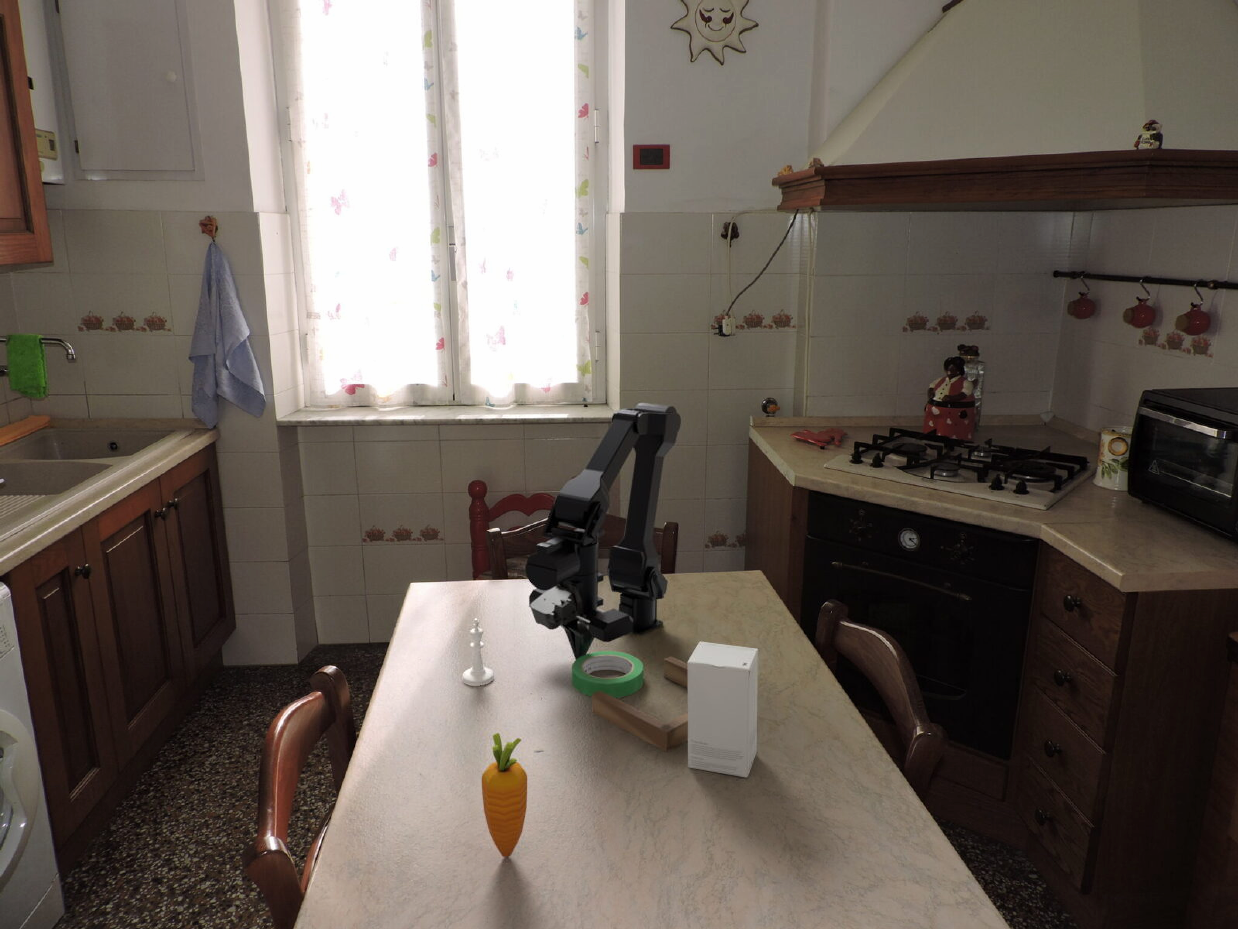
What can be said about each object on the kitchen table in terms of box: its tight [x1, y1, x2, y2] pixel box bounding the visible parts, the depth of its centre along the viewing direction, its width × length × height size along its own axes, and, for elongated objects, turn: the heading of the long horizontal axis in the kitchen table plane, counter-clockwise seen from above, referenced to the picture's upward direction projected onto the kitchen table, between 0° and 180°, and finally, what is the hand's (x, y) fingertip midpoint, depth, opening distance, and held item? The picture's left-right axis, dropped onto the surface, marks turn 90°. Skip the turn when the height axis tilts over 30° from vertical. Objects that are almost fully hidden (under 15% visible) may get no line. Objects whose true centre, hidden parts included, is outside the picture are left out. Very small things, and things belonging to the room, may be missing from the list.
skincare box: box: [686, 641, 759, 778], centre depth 120 cm, size 8×7×16 cm
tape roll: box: [571, 650, 644, 699], centre depth 142 cm, size 11×11×3 cm
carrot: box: [481, 732, 528, 859], centre depth 101 cm, size 5×5×15 cm
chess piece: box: [461, 618, 495, 687], centre depth 142 cm, size 5×5×10 cm
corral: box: [591, 656, 688, 753], centre depth 134 cm, size 17×14×3 cm
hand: (579, 660), depth 147 cm, fingers closed
